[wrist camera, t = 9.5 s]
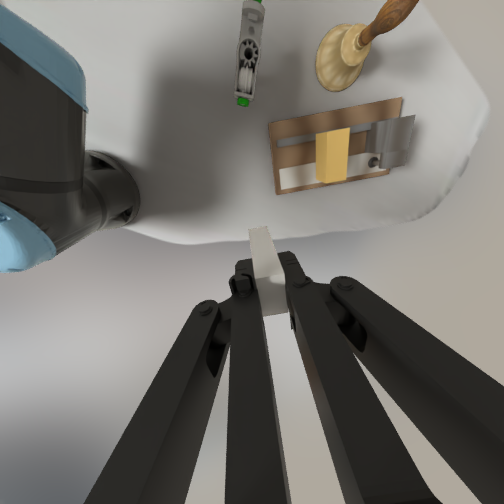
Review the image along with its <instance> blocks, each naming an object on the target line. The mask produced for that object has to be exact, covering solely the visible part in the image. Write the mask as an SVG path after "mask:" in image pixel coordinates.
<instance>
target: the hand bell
mask: <svg viewBox="0 0 504 504" xmlns="http://www.w3.org/2000/svg"><path fill="white" fill-rule="evenodd" d="M418 1H419V0H388V1H387V2H386V3H385V4H384V6H383V7H382V8H381V10H380V11H379V13H378V15H377V16H376V18H375V20H374V21H373V22H372V23H371V24H370V25H368V26H366V25H365V24H361V23H359V24H355V25H350V24H341V25H338V26H336V27H334V28H333V29H331V30H330V31H329V32H328V33H327V34H326V36H325V37H324V38H323V40H322V42H321V44H320V46H319V48H318V52H317V56H316V74H317V77H318V80H319V82H320V83H321V85H322V86H323V87H324V88H326V89H327V90H329V91H332V92H338V91H342V90H344V89H346V88H347V87H349V86H350V85H351V84H352V83H353V82H354V81H355V80H356V78H357V77H358V75H359V73H360V71H361V69H362V66H363V63H364V59H365V58H366V57H367V55H368V53H369V51H370V48H371V42H372V40H373V39H374V38H375V37H376V36H377V35H379V34H384V33H386V32H388V31H390V30H392V29H394V28H395V27H396V26H398V25H399V24H400V23H401V22H403V21H404V20H405V19H406V18H407V16H408V15H409V14H410V13H411V11H412V10H413V9H414V7H415V6H416V4H417V3H418Z"/></svg>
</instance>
